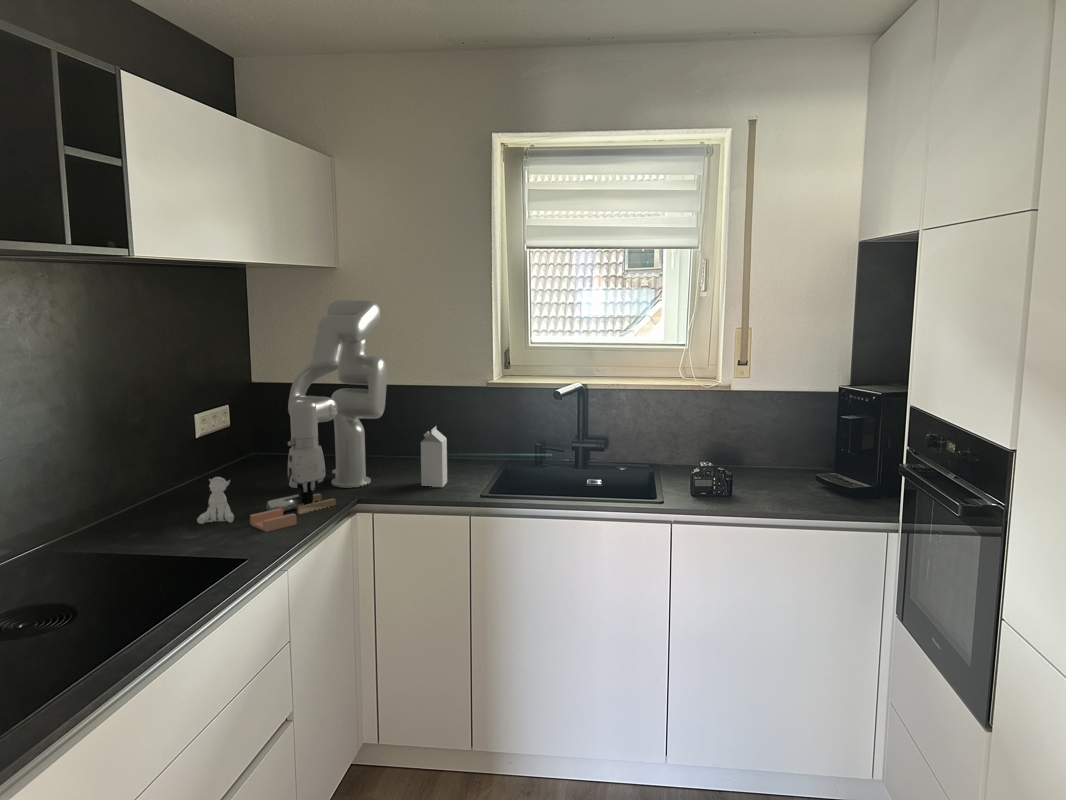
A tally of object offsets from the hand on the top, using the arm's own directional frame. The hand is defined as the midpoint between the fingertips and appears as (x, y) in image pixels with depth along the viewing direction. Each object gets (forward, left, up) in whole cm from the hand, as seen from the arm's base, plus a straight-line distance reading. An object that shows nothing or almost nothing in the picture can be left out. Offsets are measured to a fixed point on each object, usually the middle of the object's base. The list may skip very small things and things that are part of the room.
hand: (307, 503), depth 227 cm
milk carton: (+7, +43, -1) cm, 43 cm away
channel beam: (0, +1, -1) cm, 1 cm away
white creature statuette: (-8, -23, -1) cm, 25 cm away
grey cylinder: (-1, -7, +1) cm, 7 cm away
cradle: (+8, -15, -1) cm, 17 cm away
